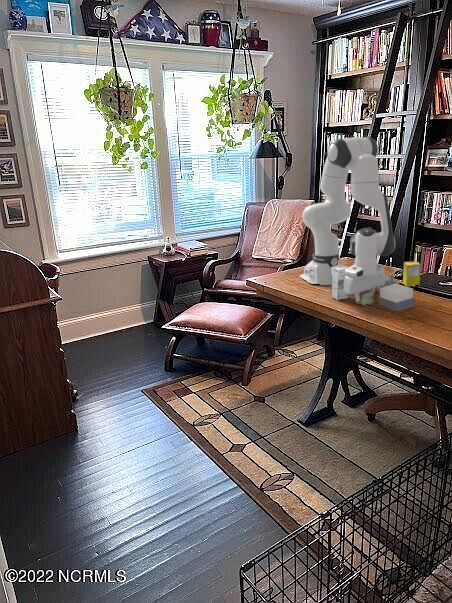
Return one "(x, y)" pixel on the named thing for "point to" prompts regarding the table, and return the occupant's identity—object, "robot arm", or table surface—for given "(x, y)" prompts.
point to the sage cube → (366, 297)
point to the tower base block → (397, 304)
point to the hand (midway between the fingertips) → (364, 299)
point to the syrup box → (338, 282)
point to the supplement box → (411, 274)
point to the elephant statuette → (388, 281)
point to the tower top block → (396, 293)
